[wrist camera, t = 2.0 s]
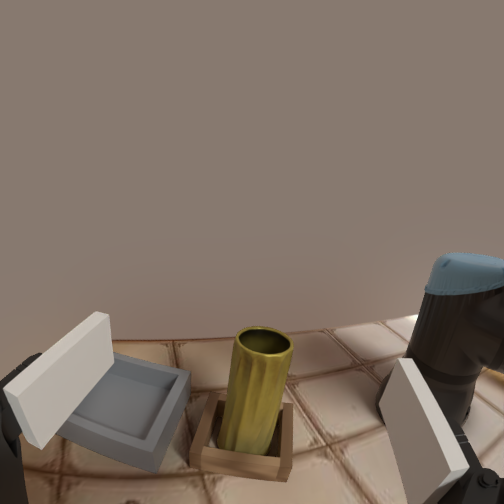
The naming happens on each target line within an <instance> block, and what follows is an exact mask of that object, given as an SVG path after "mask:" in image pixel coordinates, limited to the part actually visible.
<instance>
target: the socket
mask: <svg viewBox="0 0 504 504" xmlns="http://www.w3.org/2000/svg"><path fill="white" fill-rule="evenodd" d="M226 397H227V394H221V393H216V392H210V394H209V397H208V400H207V403H206V406H205V408H204V411H203V414H202V417H201V420H200V422H199V425H198V428H197V431H196V434H195V436H194V439H193V442H192V445H191V448H190V451H189V462H190V468H195V469H199V470H204V471H209V472H214V473H219V474H225V475H231V476H237V477H243V478H251V479H258V480H267V481H278V482H287V479H288V477H289V474H290V472H291V469H292V452H293V404H292V403H283V402H281V405H280V409H279V413H278V417H277V421H276V425H279V431H278V446H277V457H269V456H261V455H253V454H246V453H239V452H233V451H227V450H222V449H216V448H211V447H208V446H209V442H210V439H211V436H212V432H213V429H214V425H215V422H216V419H217V416H218V417H223V415H224V409H225V403H226Z"/></svg>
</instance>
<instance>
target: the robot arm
mask: <svg viewBox="0 0 504 504" xmlns="http://www.w3.org/2000/svg"><path fill="white" fill-rule="evenodd" d="M113 364H114V356H113V348H112V339H111V330H110V320H109V315H108V314H105V313H101V312H97V311H95V312H94V313H93V314H92V315H90V316H89V317H88V318H87V319H85V320H84V321H83V322H81V323H80V324H79V325H78V326H76V327H75V328H74V329H73V330H71V331H70V332H69V333H68V334H67V335H65V336H64V337H63V338H62V339H60V340H59V341H58V342H57V343H56V344H54V345H53V346H52V347H51V348H49V349H48V350H47V351H46V352H45V353H43V354H42V353H38V354H35V355H33V356H30V357H29V358H27V359H26V360H25V361H24V362H23V363H22V365H21V364H20V365H19V366H18V367H16V370H15V369H14V370H13V371H12V372H11V373H9V374H8V375H7V376H6V377H4V378H3V379H2V380H1V381H0V504H29V503H28V498H27V493H26V486H25V480H24V473H23V465H22V455H21V443H20V439H19V437H18V436H19V435H20V434H21V432H23V434H24V436H25V438H26V440H27V442H29V443H30V444H32V445H34V446H35V447H37V448H39V449H41V450H42V449H43V448H44V447H45V445H46V444H47V443H48V442H49V440H50V439H51V438H52V437H53V435H54V434H55V433H56V432H57V431H58V429H59V428H60V427H61V426H62V424H63V423H64V422H65V421H66V420H67V418H68V417H69V416H70V415H71V413H72V412H73V411H74V410H75V409H76V407H77V406H78V405H79V404H80V403H81V401H82V400H83V399H84V398H85V397H86V395H87V394H88V393H89V392H90V391H91V389H92V388H93V387H94V386H95V385H96V384H97V382H98V381H99V380H100V379H101V378H102V377H103V375H104V374H105V373H106V372H107V371H108V369H109V368H110V367H111V366H112V365H113ZM483 367H487V368H489V369H492V370H494V371H497V372H500V373H503V374H504V260H502V259H500V258H496V257H492V256H486V255H480V254H472V253H448V254H444V255H442V256H440V257H439V258H438V259H437V260H436V261H435V263H434V265H433V268H432V272H431V275H430V278H429V281H428V284H427V285H426V286H425V295H424V298H423V302H422V305H421V309H420V312H419V315H418V318H417V321H416V324H415V327H414V330H413V333H412V336H411V339H410V342H409V345H408V348H407V350H406V353H405V354H404V356H403V357H402V358H397V361H396V363H395V366H394V368H393V369H392V371H391V372H390V373H389V374H388V375H387V376H386V377H385V378H384V380H383V381H382V383H381V385H380V388H379V390H378V393H377V395H376V408H377V411H378V413H379V415H380V417H381V418H382V419H383V421H384V422H385V425H386V428H387V431H388V435H389V438H390V441H391V444H392V448H393V451H394V455H395V458H396V461H397V465H398V468H399V472H400V475H401V479H402V483H403V486H404V490H405V494H406V498H407V502H408V504H504V478H499V476H498V475H497V473H496V472H495V471H493V470H491V469H488V468H482V466H481V464H480V462H479V460H478V458H477V456H476V454H475V452H474V450H473V449H472V447H471V445H470V443H468V439H467V437H466V435H464V434H465V433H464V432H463V430H462V426H463V425H464V423H465V422H466V420H467V418H468V416H469V412H470V405H471V402H472V399H473V394H474V389H475V384H476V380H477V378H478V376H479V374H480V372H481V370H482V368H483Z"/></svg>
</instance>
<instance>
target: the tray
mask: <svg viewBox="0 0 504 504" xmlns="http://www.w3.org/2000/svg"><path fill="white" fill-rule="evenodd" d="M113 356H114V364H113V365H112V366H111V367H110V368H109V369H108V371H107V372H106V373H105V374H104V375H103V377H102V378H101V379H100V380H99V381H98V382H97V384H96V385H95V386H94V387H93V388H92V389H91V391H90V392H89V393H88V394H87V395H86V397H85V398H84V399H83V400H82V401H81V403H80V404H79V405H78V406H77V407H76V409H75V410H74V411H73V412H72V413H71V415H70V416H69V417H68V418H67V420H66V421H65V422H64V423H63V424H62V426H61V427H60V428H59V429H58V431H57V432H56V433H55V434H57V435H59V436H61V437H63V438H66V439H68V440H70V441H72V442H74V443H76V444H78V445H80V446H83V447H85V448H87V449H90V450H92V451H94V452H97V453H99V454H102V455H104V456H107V457H109V458H112V459H114V460H117V461H120V462H122V463H125V464H128V465H131V466H134V467H137V468H140V469H143V470H146V471H149V472H153V473H156V474H157V472H158V469H159V467H160V465H161V462H162V460H163V458H164V455H165V453H166V451H167V448H168V446H169V444H170V441H171V439H172V437H173V434H174V432H175V430H176V427H177V425H178V423H179V420H180V418H181V416H182V414H183V411H184V409H185V407H186V404H187V402H188V400H189V397H190V395H191V371H187V370H183V369H178V368H173V367H169V366H165V365H161V364H156V363H152V362H148V361H144V360H141V359H137V358H133V357H129V356H126V355H122V354H119V353H115V352H113Z"/></svg>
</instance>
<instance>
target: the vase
mask: <svg viewBox="0 0 504 504" xmlns="http://www.w3.org/2000/svg"><path fill="white" fill-rule="evenodd" d="M293 347H294V344H293V341H292V339H291V338H290V337H289V336H288V335H286V334H285V333H283V332H281V331H279V330H276V329H273V328H269V327H263V326H252V327H247V328H244V329H242V330H240V331H239V332H238V333H237V335H236V337H235V341H234V346H233V352H232V360H231V368H230V375H229V382H228V390H227V397H226V403H225V409H224V415H223V420H222V425H221V429H220V431H219V433H218V437H217V444H218V446H219V448H220V449H222V450H227V451H233V452H239V453H246V454H253V455H261V456H266V455H267V454H268V453H269V451H270V449H271V439H272V436H273V432H274V429H275V425H276V421H277V417H278V413H279V409H280V405H281V400H282V396H283V392H284V387H285V383H286V378H287V374H288V370H289V367H290V362H291V358H292V353H293Z"/></svg>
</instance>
